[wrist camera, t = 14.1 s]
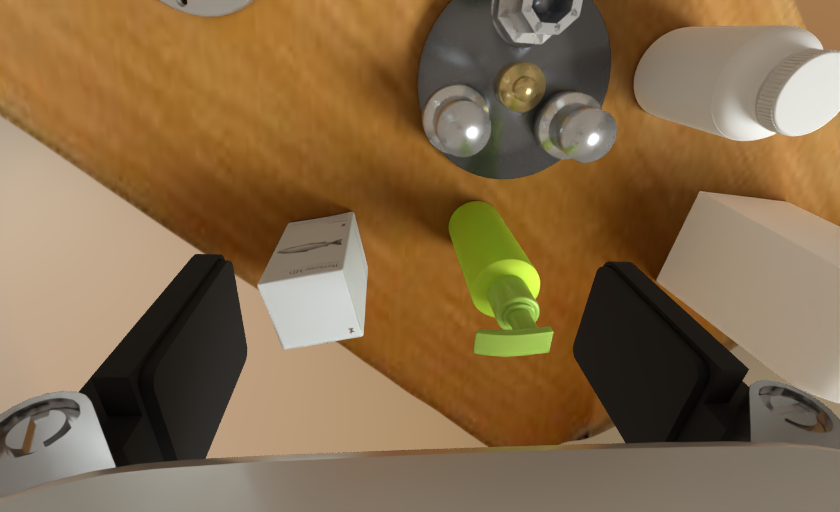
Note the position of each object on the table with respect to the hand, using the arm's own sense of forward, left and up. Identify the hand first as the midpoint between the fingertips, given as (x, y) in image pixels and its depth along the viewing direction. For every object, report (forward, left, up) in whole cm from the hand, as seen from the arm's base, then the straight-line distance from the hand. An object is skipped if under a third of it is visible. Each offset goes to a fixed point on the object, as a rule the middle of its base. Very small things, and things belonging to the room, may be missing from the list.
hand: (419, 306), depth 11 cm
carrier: (+6, +10, -32) cm, 34 cm away
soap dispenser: (+15, -2, -32) cm, 36 cm away
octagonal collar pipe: (+1, +14, -31) cm, 34 cm away
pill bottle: (+16, +22, -32) cm, 43 cm away
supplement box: (+6, -15, -33) cm, 36 cm away
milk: (+38, +19, -33) cm, 54 cm away
